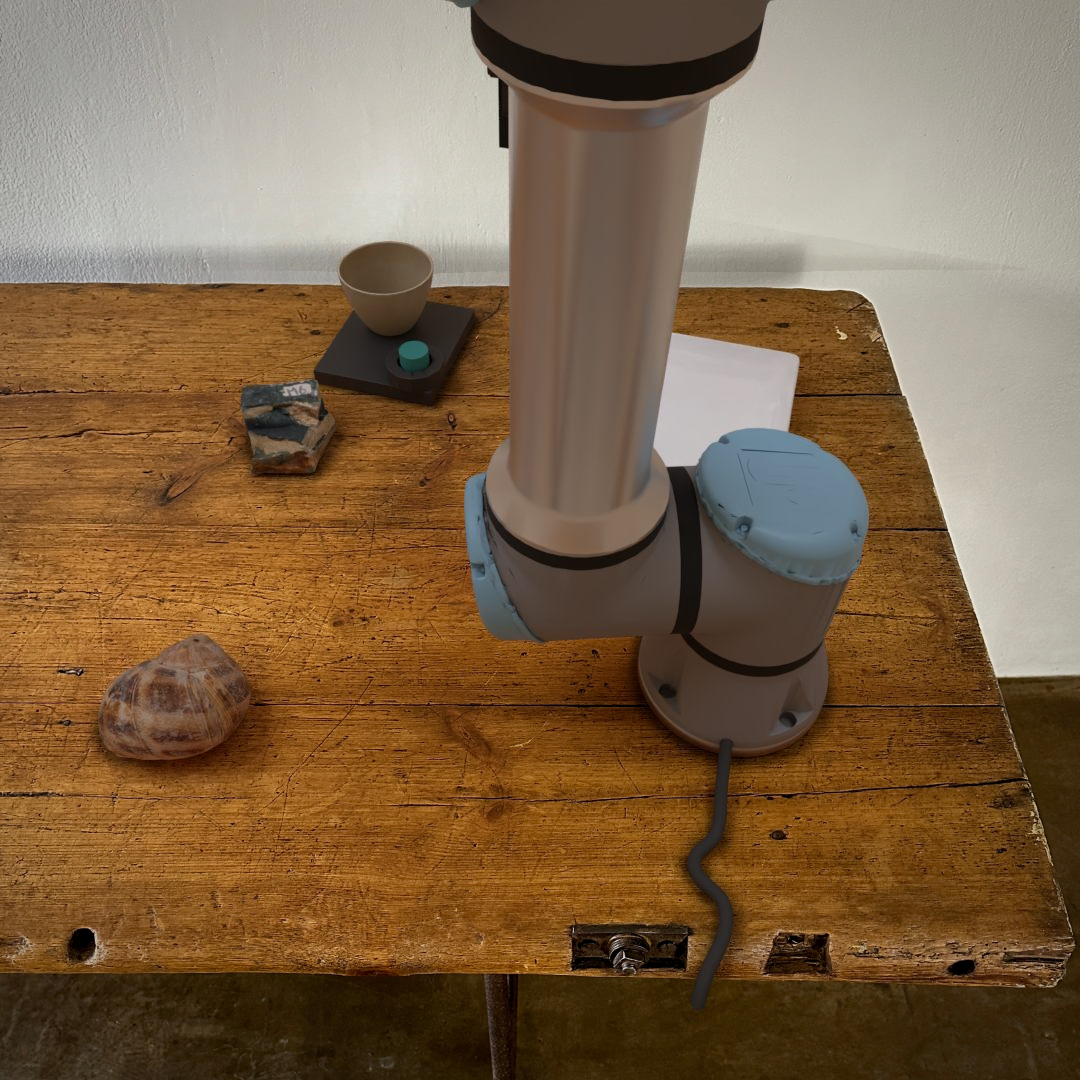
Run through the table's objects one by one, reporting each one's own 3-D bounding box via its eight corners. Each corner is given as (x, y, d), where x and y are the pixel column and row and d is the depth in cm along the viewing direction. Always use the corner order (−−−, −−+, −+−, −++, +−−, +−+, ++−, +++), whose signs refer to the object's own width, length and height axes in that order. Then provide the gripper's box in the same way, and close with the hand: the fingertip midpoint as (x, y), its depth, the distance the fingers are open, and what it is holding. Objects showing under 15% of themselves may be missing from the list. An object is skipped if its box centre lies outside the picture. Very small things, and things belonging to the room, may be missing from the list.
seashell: (186, 631, 81) (201, 601, 72) (258, 713, 81) (282, 692, 73) (74, 716, 75) (77, 694, 67) (153, 803, 76) (165, 792, 67)
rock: (251, 482, 93) (238, 439, 89) (250, 417, 99) (238, 374, 95) (341, 472, 94) (333, 428, 90) (336, 408, 100) (328, 364, 96)
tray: (569, 559, 88) (571, 533, 85) (642, 349, 108) (645, 324, 105) (756, 602, 85) (764, 577, 82) (795, 379, 105) (802, 353, 102)
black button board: (434, 409, 101) (432, 383, 98) (313, 385, 103) (308, 359, 100) (479, 322, 110) (478, 296, 108) (368, 301, 112) (364, 276, 110)
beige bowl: (423, 356, 103) (418, 300, 98) (333, 343, 105) (323, 287, 99) (447, 302, 110) (444, 246, 104) (363, 290, 111) (355, 234, 106)
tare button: (423, 374, 99) (422, 361, 98) (396, 369, 100) (394, 355, 99) (433, 356, 101) (432, 343, 100) (406, 351, 102) (404, 338, 100)
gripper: (544, -103, 66) (538, 185, 83) (620, -194, 82) (603, 63, 98) (440, -114, 68) (454, 172, 84) (534, -202, 83) (531, 53, 100)
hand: (534, 113), depth 91 cm, fingers open, 13 cm apart
